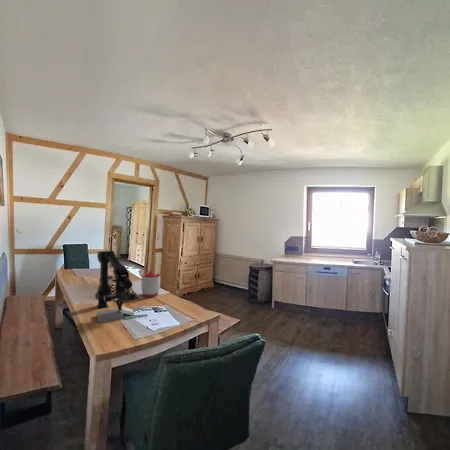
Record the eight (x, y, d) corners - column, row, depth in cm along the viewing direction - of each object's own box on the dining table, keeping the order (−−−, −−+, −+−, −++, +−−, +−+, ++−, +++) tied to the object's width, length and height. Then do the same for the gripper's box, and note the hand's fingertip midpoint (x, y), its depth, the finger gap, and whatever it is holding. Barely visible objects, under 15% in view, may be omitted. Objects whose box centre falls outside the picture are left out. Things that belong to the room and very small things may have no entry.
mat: (120, 311, 188) (120, 310, 188) (141, 308, 195) (141, 307, 195) (125, 319, 174) (125, 318, 174) (147, 315, 182) (147, 315, 182)
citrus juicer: (163, 292, 236) (164, 269, 235) (156, 298, 219) (157, 273, 218) (145, 291, 238) (146, 268, 237) (137, 297, 220) (138, 272, 220)
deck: (96, 316, 178) (96, 311, 178) (119, 312, 185) (119, 308, 185) (99, 322, 168) (99, 317, 168) (123, 318, 175) (123, 314, 175)
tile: (118, 309, 183) (120, 306, 183) (130, 311, 187) (131, 309, 187) (121, 312, 177) (122, 309, 177) (132, 315, 181) (134, 312, 181)
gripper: (106, 291, 167) (106, 316, 168) (137, 287, 177) (137, 311, 178) (103, 286, 177) (103, 310, 177) (133, 283, 187) (133, 306, 187)
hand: (119, 309), depth 180 cm, fingers closed
